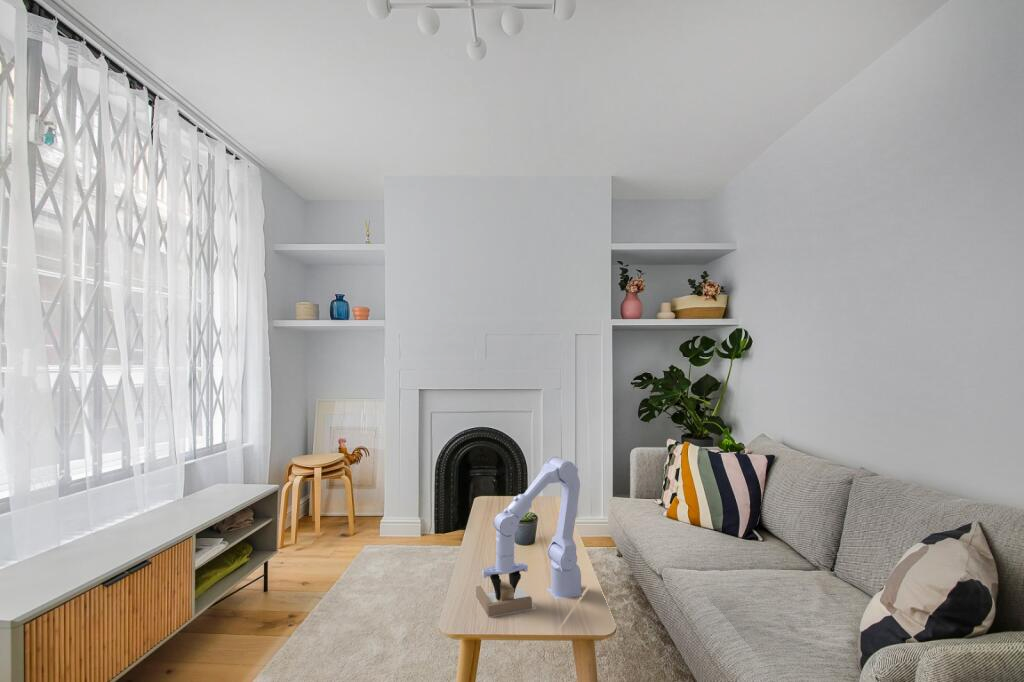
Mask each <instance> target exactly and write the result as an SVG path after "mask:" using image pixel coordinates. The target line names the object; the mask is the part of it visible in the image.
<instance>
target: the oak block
mask: <svg viewBox="0 0 1024 682" xmlns="http://www.w3.org/2000/svg"><path fill="white" fill-rule="evenodd" d="M511 599H514V588H513V587H512V586H511V584H510V583H509V579H508V580H507V579H506V580H501V585H500V600H497V598H496V600H497V601H498V602H499V601H505V600H511Z"/></svg>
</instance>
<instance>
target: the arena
mask: <svg viewBox="0 0 1024 682" xmlns="http://www.w3.org/2000/svg"><path fill="white" fill-rule="evenodd" d="M475 598H476V599H477V600H478V602H479V604H480V605H481V607H482V610H484V612H485V614H486V615H487V617H488V618H489V619H490V618H494V617H499V616H500V617H501V616H506V615H509V614H510V615H511V614H516V613H521V612H527V611H531V610H532V611H533V610H537V609H538V608H537V607H536V605H535V604H534V603H533V598H532V597H531V596H530V595H529V596H528V595H527V594H526V593H525V592H524V590H523V589H522V587H519V588H516V589H515V593H514V599H511V600H505V601H499V602H498V601H497V600H496V594H495V591H494V592H488V593H486V591H485V590H484V589H483V587H482V586H481V585H476V586H475Z"/></svg>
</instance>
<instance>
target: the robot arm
mask: <svg viewBox="0 0 1024 682" xmlns="http://www.w3.org/2000/svg"><path fill="white" fill-rule="evenodd" d="M542 465H543V466H542V468H541V471H540V472H539V473H538V475H537V476H536V478H535V479H534V480H533V481H532V483H530V485H529V486H528V487H527V489H526V490H525V492H524V493H519V494H517V495H515V496H513V498H512V501H511V503H510V504H509V505H508V506H507V507H506V508H504V509H503V511H502V512H500V513H498V514H497V515H496V516H495V518H494V521H493V522H492V525H493V527H494V529H495V530H496V532H495V533H496V535H495V536H496V537H495V538H496V539H495V565H493V566H490V567H488V568H482V569H481V576H482V578H483V579H486V578H487V577H489V579H490V580H491V583H492V586H493V588H494V592H495V594H496V598H497V600H500V585H501V581H502V579H501V578H500V576H501V575H508V582H509V583H510V584H511V586H512V587H513V588H514V593H515V589H517V586H518V584H519V582H520V580H521V578H522V574H521V573H520V572H528V568H529V566H528V564H527V563H526V562H522V563H519V562H517V563H515V534H516V532H517V531H518V529H519V524H520V521H522V519H523V518H524V517H525V516H526V515H527V513H528V512H529V511H530V509H531V508H532V506H533V505H532V503H533V500H534V499H536V498H537V496H539V494H540V493H541V492H543V490H544V489H545V488H546V487H547V486H548V485H549V484H556V483H560V485H561V486H562V492H561V498H560V499H561V500H560V506H559V512H558V513H559V514H558V519H557V520H558V521H557V528H556V534H555V535H553V536H552V537H551V541H550V543H549V546H548V547H547V556H548V558H549V559H550V564H551V565H550V567H551V568H550V569H551V570H550V577H551V578H550V587H547V588H546V590H547V592H548V593H550V594H551V596H552V597H553V598H554V599H555V600H562V599H567V598H573V597H578V596H580V597H582V596H583V594H582V573H581V569H580V566H579V564H577V563H578V555H577V545H576V543H575V540H574V531H575V525H576V524H575V523H576V518H577V517H576V516H577V510H578V502H579V495H580V489H581V482H580V479H579V475H578V471H579V468H578V467H577V466H576V465H575V464H574V463H573V462H572V461H568V460H565V459H563V458H561V457H559V456H555V455H554V456H551V457H550V458H548V460H547V461H546V462H545V463H544V464H542Z"/></svg>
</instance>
